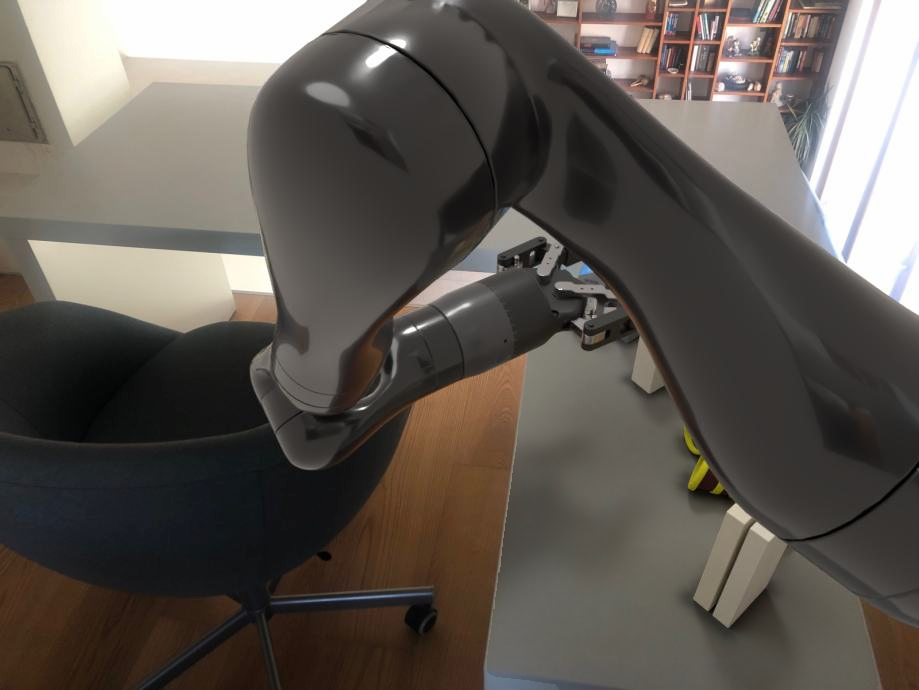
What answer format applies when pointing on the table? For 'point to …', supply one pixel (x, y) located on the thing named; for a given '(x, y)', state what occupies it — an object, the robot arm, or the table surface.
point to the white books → (738, 566)
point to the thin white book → (646, 370)
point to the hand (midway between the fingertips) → (623, 264)
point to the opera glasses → (702, 472)
